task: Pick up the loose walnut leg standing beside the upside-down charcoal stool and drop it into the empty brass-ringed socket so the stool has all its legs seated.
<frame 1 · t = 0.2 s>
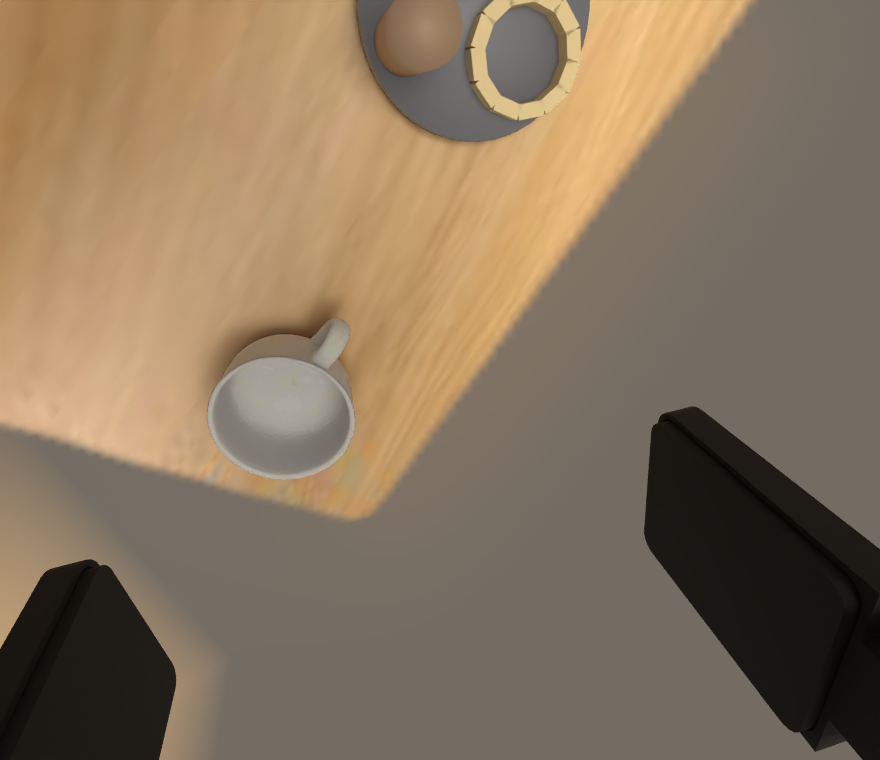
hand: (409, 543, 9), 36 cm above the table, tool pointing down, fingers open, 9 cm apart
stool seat: (471, 15, 37), on the table
teacup: (299, 363, 46), on the table
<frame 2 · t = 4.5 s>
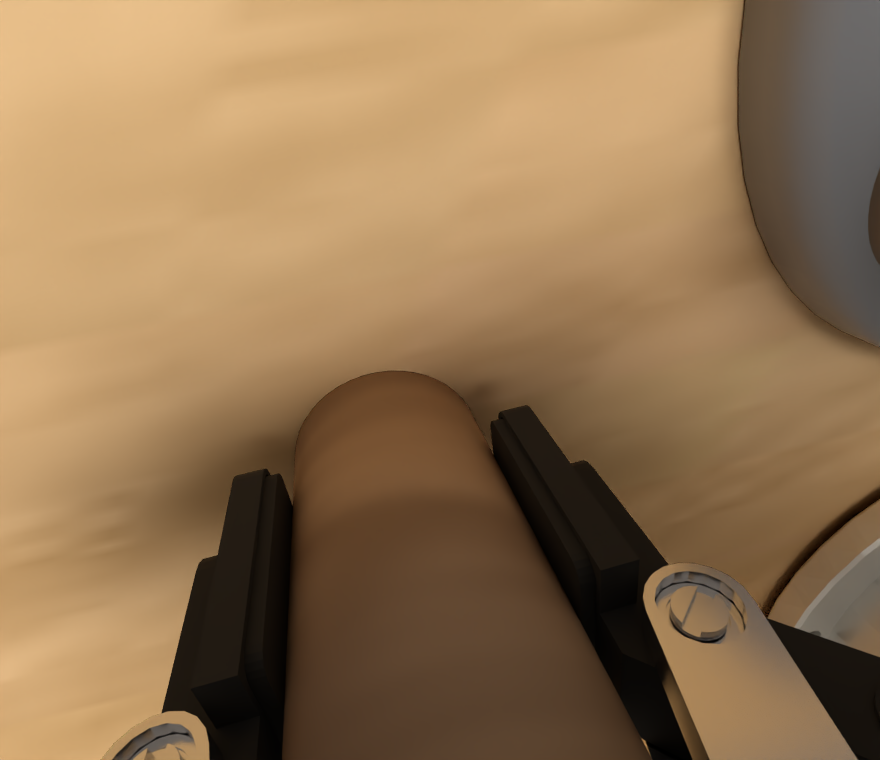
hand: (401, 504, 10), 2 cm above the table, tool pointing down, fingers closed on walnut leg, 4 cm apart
walnut leg: (389, 452, 12), on the table, touching gripper
when the fingers open (6 cm above the table, at t = 9.1 s): walnut leg drops 2 cm, resting on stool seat.
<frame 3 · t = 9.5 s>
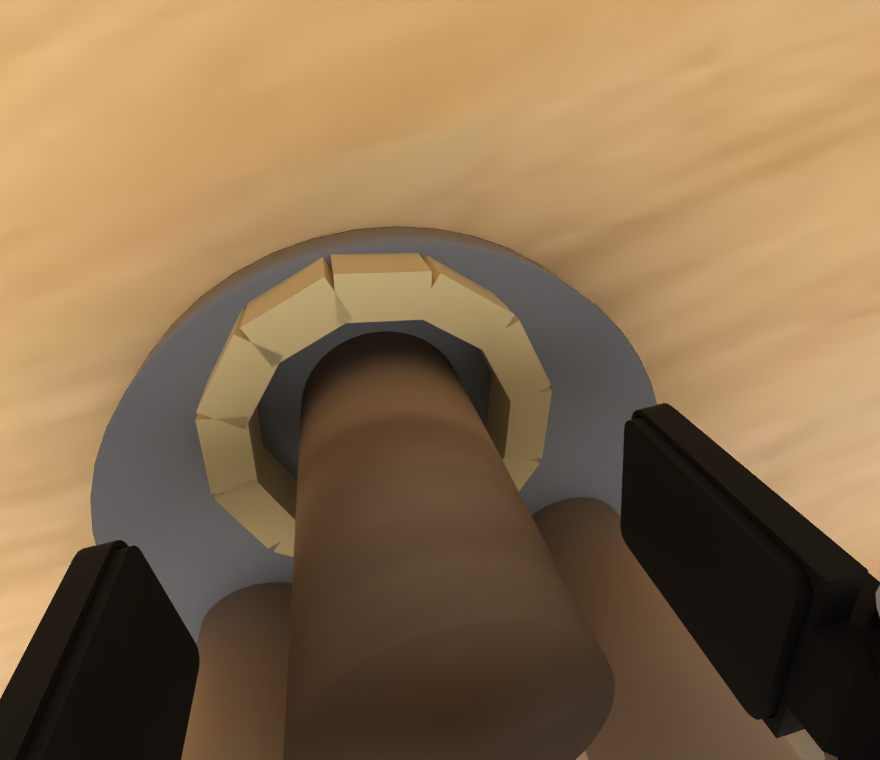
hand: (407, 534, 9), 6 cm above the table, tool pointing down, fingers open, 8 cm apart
walnut leg: (383, 405, 13), point 2 cm above the table, touching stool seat
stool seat: (397, 480, 17), on the table
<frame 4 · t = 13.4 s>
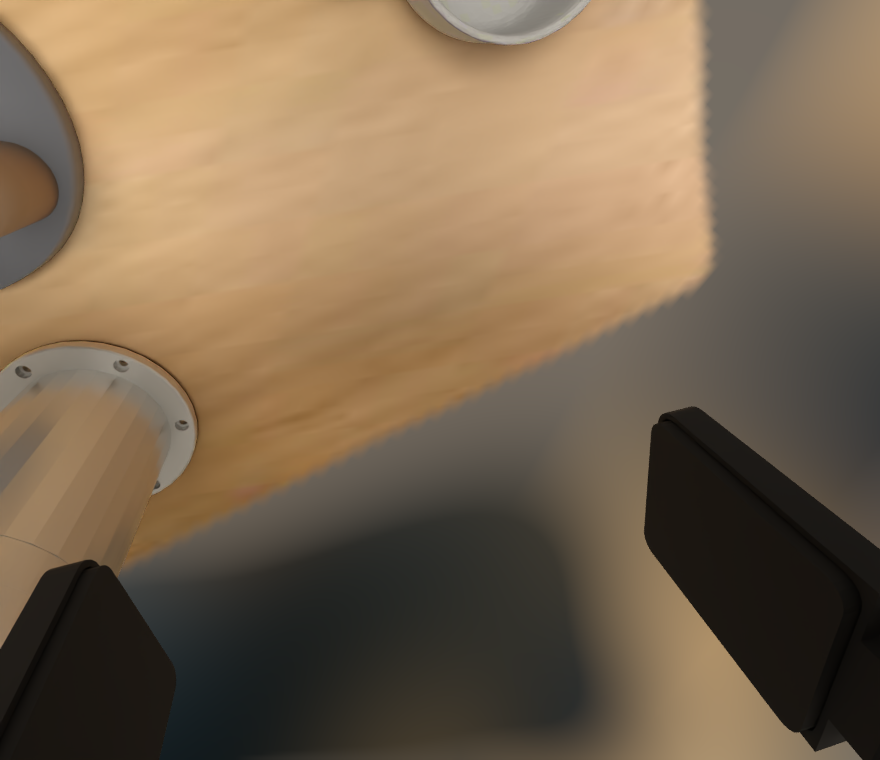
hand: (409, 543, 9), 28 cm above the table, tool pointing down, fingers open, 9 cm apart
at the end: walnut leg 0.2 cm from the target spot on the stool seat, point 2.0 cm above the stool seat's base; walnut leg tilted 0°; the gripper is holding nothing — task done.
